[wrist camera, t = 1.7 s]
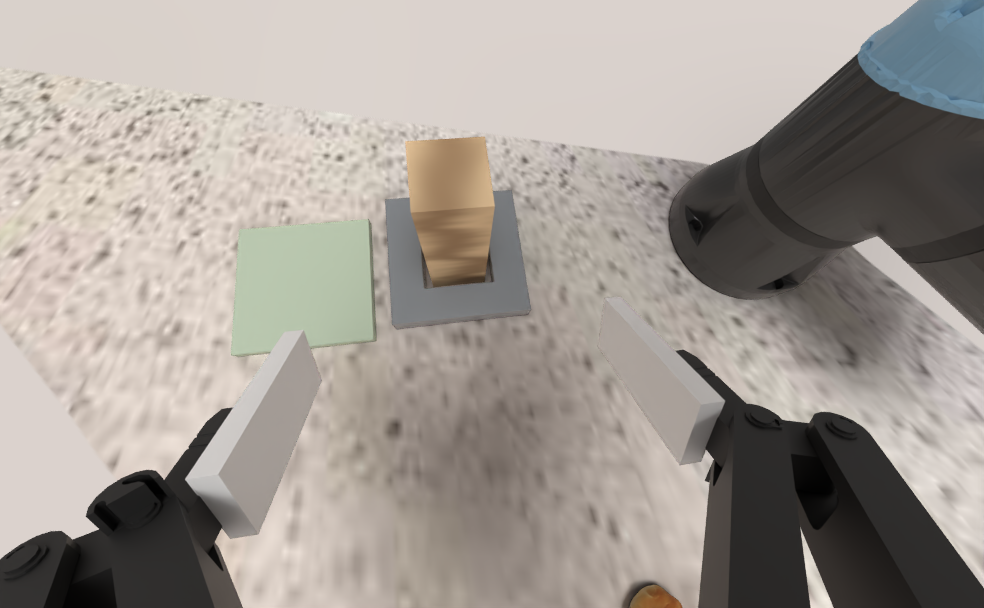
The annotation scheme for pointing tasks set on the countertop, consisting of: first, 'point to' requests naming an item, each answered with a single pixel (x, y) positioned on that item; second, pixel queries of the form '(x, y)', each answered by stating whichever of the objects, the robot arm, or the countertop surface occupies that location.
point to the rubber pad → (304, 285)
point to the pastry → (654, 598)
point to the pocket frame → (461, 301)
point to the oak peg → (451, 207)
